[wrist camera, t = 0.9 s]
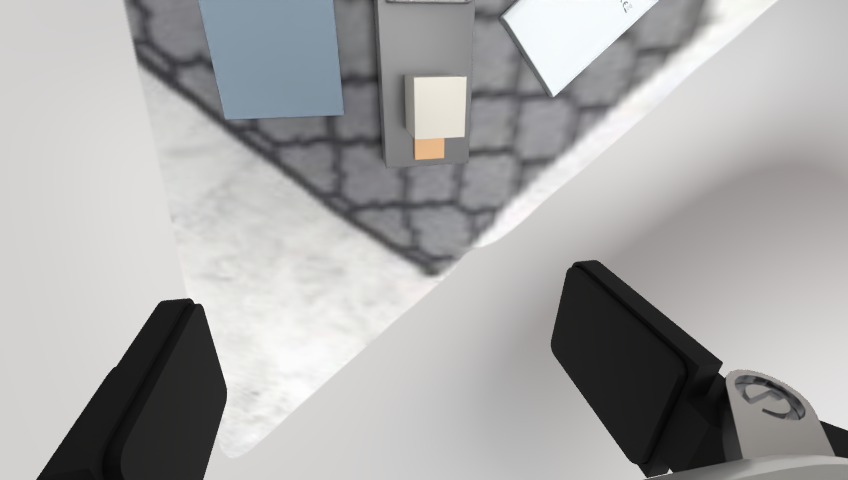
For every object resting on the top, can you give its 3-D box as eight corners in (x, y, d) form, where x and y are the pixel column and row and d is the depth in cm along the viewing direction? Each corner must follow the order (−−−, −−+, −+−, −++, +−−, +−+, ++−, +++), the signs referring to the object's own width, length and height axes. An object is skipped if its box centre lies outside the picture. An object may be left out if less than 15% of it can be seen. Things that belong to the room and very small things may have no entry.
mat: (184, -74, 25) (180, -78, 24) (326, -67, 26) (326, -71, 26) (227, 118, 30) (225, 119, 29) (343, 113, 32) (344, 115, 31)
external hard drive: (495, 18, 32) (618, -102, 30) (545, 96, 35) (657, -7, 33) (503, 16, 30) (632, -110, 28) (554, 98, 34) (671, -9, 32)
